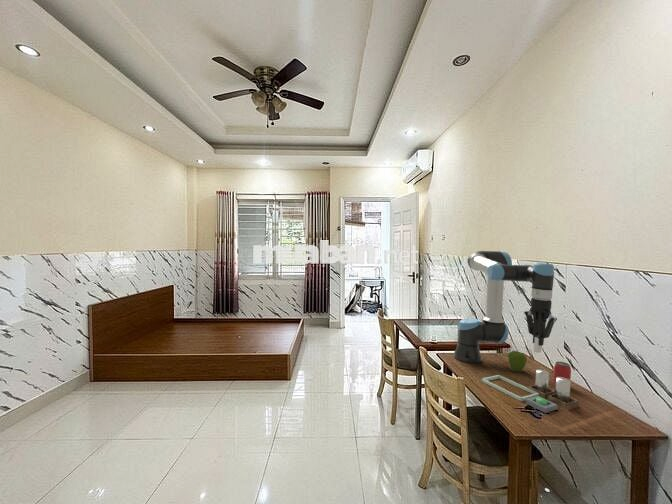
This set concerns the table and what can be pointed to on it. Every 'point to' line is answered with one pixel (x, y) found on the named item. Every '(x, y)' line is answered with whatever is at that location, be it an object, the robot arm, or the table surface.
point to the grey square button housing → (545, 409)
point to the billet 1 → (542, 380)
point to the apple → (517, 360)
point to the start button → (541, 401)
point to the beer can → (562, 371)
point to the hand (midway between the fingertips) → (537, 351)
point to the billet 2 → (562, 389)
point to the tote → (486, 380)
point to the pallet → (551, 397)
